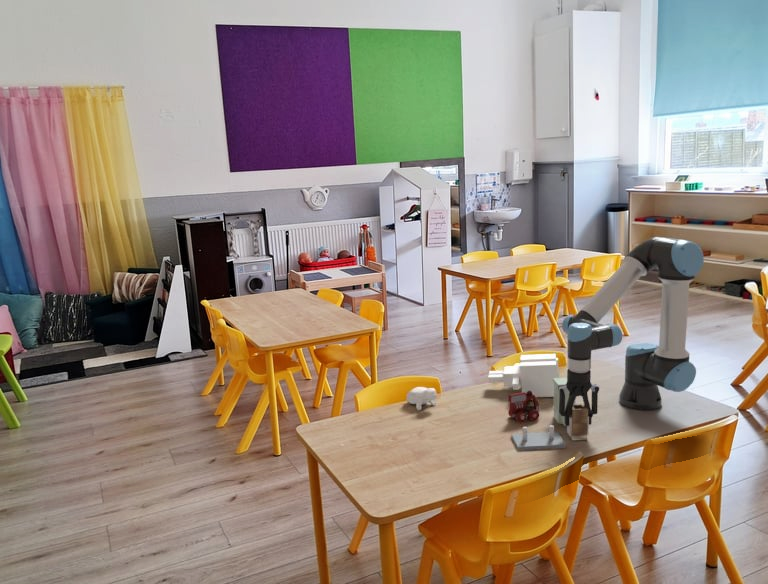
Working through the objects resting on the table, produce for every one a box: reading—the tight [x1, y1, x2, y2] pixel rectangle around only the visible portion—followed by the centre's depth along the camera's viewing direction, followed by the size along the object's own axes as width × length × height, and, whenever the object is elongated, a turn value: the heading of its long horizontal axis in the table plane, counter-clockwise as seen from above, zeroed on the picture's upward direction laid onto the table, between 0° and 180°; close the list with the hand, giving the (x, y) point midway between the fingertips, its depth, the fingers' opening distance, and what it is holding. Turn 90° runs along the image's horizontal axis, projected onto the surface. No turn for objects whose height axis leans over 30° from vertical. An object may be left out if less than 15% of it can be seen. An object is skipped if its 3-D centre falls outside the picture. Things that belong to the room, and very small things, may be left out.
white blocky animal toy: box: [405, 386, 438, 411], centre depth 254 cm, size 9×8×15 cm
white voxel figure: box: [487, 353, 560, 398], centre depth 265 cm, size 15×25×28 cm
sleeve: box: [567, 403, 588, 441], centre depth 221 cm, size 5×5×11 cm
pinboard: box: [510, 425, 567, 451], centre depth 219 cm, size 16×10×6 cm, turn 92°
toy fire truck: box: [507, 391, 540, 424], centre depth 238 cm, size 7×12×10 cm, turn 109°
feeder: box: [553, 377, 576, 427], centre depth 233 cm, size 7×12×15 cm, turn 2°
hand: (577, 433), depth 222 cm, fingers closed on sleeve, 5 cm apart
